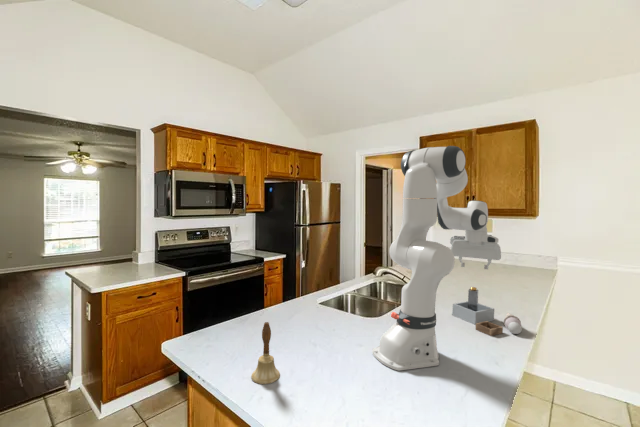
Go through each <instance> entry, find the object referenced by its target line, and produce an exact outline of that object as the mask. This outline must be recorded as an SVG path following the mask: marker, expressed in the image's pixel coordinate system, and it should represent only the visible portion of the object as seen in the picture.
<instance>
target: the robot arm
mask: <svg viewBox="0 0 640 427" xmlns="http://www.w3.org/2000/svg"><path fill="white" fill-rule="evenodd" d="M465 167H466V154H465V152H464V151H463V149H462V148H461V147H459V146H455V145H447V146H435V147H434V146H429V147H424V148H420V149H412V150H410V151H407V152H406V153H404V154H403V156H402V157H401V160H400V170H401V172H402V174H403V177H404V180H403V187H402V216H401V225H400V227H399V228H400V229H399V231H398V234H397V237H396V238H395V239H394V240H393V241H392V243H391V244H390V246H389V249H388V250H389V251H388V252H389V257H390V260H392V261H393V262H394V263H395V264H396V265H398V266H400V267H401V268H404V269H407V270H411V276H410V279H409V282H407V283H405V284H404V285H403V286H402V288H401V300H400V301H401V305H400V309H399V311H398V313H397V312H395V311H392V312H391V314H390V316H391V318H393V319H394V320H396V321H395V322H394V323H393V324H392V326H390V327H389V328H388V329H387V330H386V331H385V332H383V334H382V335H381V336H380V339H379V340H380V341H379V346H376V347H374V348H372V352H371V353H372V355H373V357H374V358H375V359H376V360H378V361H379V362H380V363H382V365H384V366H386V367H388V368H389V369H392V370H395V371H407V370H414V369H421V368H423V369H424V368H430V367H437V366H439V365H440V361H439V357H440V356H439V354H440V353H439V351H438V347H437V335H436V326H437V313H436V301H437V300H436V299H437V291H438V289H439V285H440V283H441V281H442V280H443V279H444V278H445V277H447V276H448V275H449V274H450V273H451V272H452V271H453V269H454V267H455V262H456V261H455V260H456V259H455V257H458V260H459V262H460V267H461V268H465V264H466V263H465V262H463V260H462V259H463V258H470V259H482V260H487V263H486V264H484V266H483V267H484V268H483V269H484V270H489V266H490V265H491V264H492V261H500V260H501V258H502V251H501V246H500V244H499V238H498V237H496V236H494V235H491V234H488V228H487V227H488V226H487V225H488V222H489V208H488V204H487V203H486V202H485V201H482V200H470V201H468V203H467V207H452V206H451V205H449V201H448V198H449V197H452V196H456V195H458V194H460V193H461V192H462V191H463V190H464V189H465V188H466V186H467V185H468V181H469V179H468V177H469V176H468V174H467V170H466V168H465ZM436 223H438V225H439V226H440V227H441V228H442V229H443V230H455V231H456V230H458V231H465V232H464V235H460V236H459V235H454V236H452V237H451V238H450V239H449V240H450V241H449V243H450V245H451V248H449V247H448V246H446V245H444V244H442V243H439V242H436V241H431V240H427V235H428V232H429V230H430V229H431V227H433V226H434V225H436Z"/></svg>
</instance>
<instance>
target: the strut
mask: <svg viewBox="0 0 640 427" xmlns="http://www.w3.org/2000/svg"><path fill="white" fill-rule="evenodd" d="M467 291H468V292H467V294H468V295H467V297H468V298H467V299H468V300H467V301H468V309H470V310H473V311H475V312H476V311H478V303H479V289H477V287H474V286H470V288H469V289H468V290H467Z"/></svg>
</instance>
